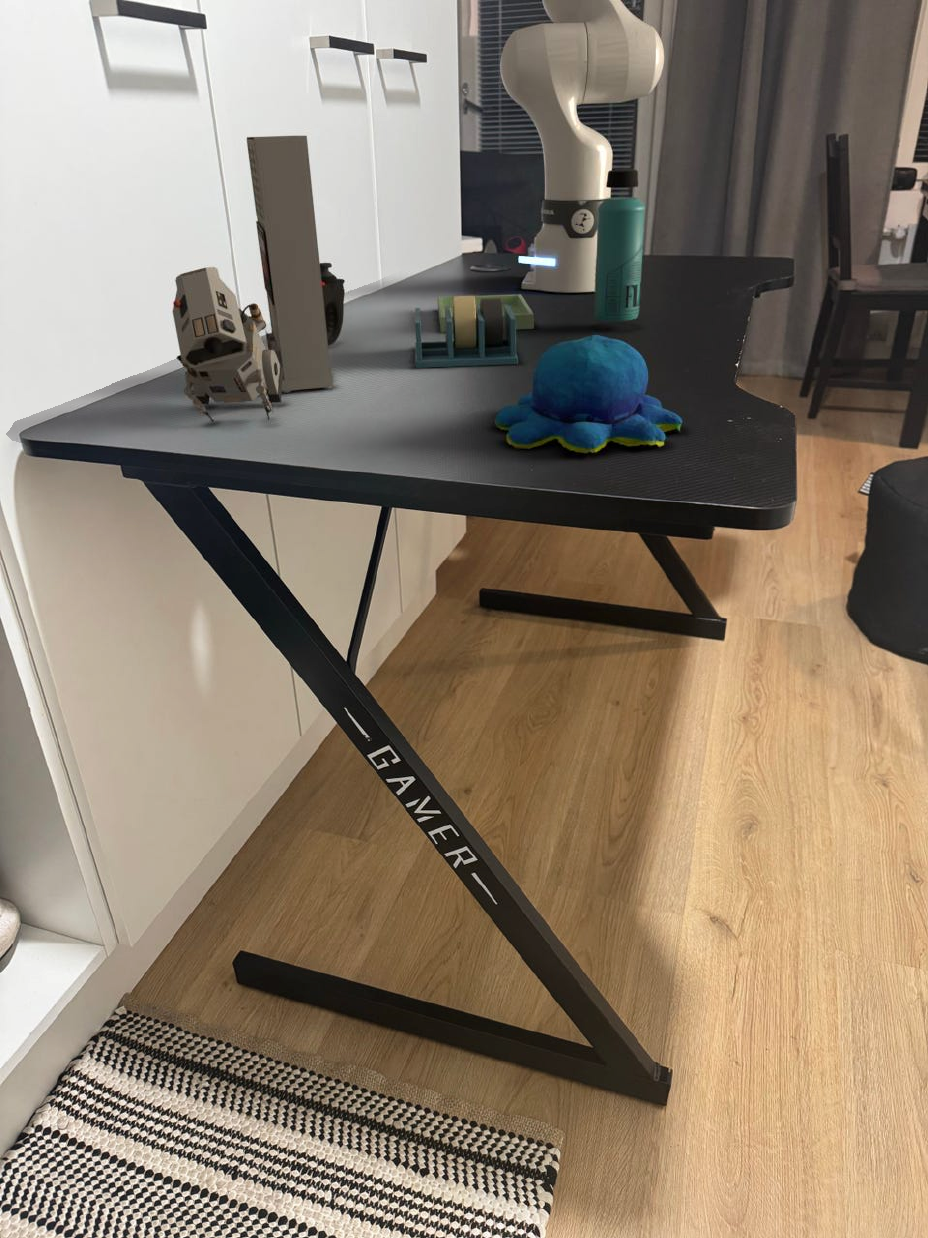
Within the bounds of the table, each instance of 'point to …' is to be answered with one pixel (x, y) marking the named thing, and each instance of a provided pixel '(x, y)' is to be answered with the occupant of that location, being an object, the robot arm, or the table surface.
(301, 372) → the tall beige panel
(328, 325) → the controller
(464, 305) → the masking tape
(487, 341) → the vinyl tape
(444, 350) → the tape rack
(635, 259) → the beverage bottle
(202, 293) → the figurine
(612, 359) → the plush toy
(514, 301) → the tray
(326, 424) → the table surface
